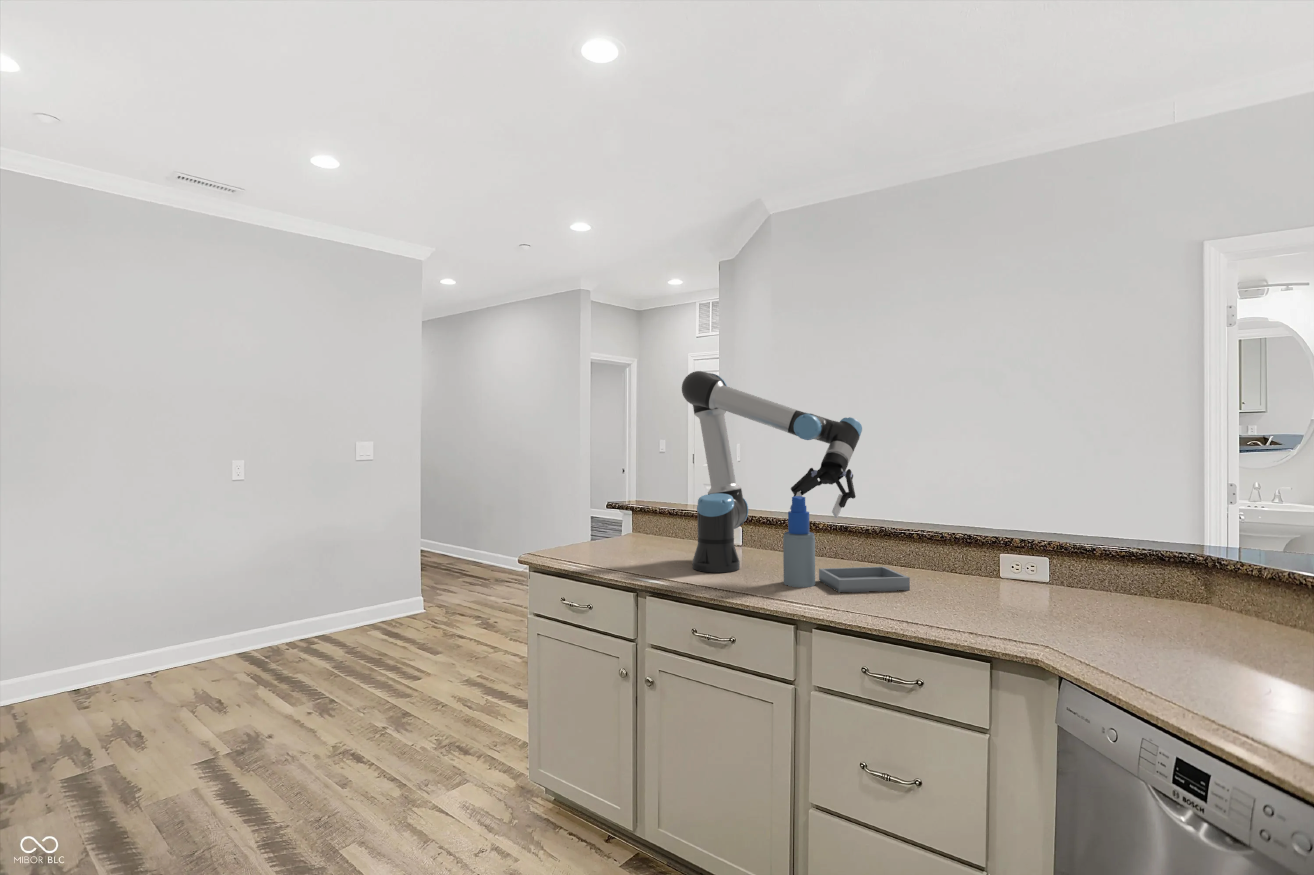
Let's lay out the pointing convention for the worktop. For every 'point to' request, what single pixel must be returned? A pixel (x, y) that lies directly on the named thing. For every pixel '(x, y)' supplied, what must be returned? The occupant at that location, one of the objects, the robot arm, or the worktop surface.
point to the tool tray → (864, 579)
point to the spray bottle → (799, 547)
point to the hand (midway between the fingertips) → (813, 513)
